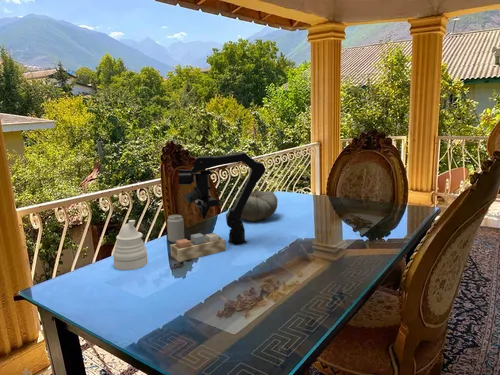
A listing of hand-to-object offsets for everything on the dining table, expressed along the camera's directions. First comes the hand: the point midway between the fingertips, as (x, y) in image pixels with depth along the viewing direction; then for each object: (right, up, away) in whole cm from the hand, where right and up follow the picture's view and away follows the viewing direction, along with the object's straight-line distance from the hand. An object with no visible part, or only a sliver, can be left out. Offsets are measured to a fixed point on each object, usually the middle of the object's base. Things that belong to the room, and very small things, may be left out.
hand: (203, 218), depth 172 cm
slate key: (-1, -11, -10) cm, 15 cm away
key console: (-1, -14, -9) cm, 17 cm away
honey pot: (-27, -17, -19) cm, 37 cm away
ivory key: (+5, -12, -6) cm, 14 cm away
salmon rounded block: (-7, -13, -14) cm, 20 cm away
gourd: (+24, -4, +43) cm, 49 cm away
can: (-14, -11, +7) cm, 19 cm away
